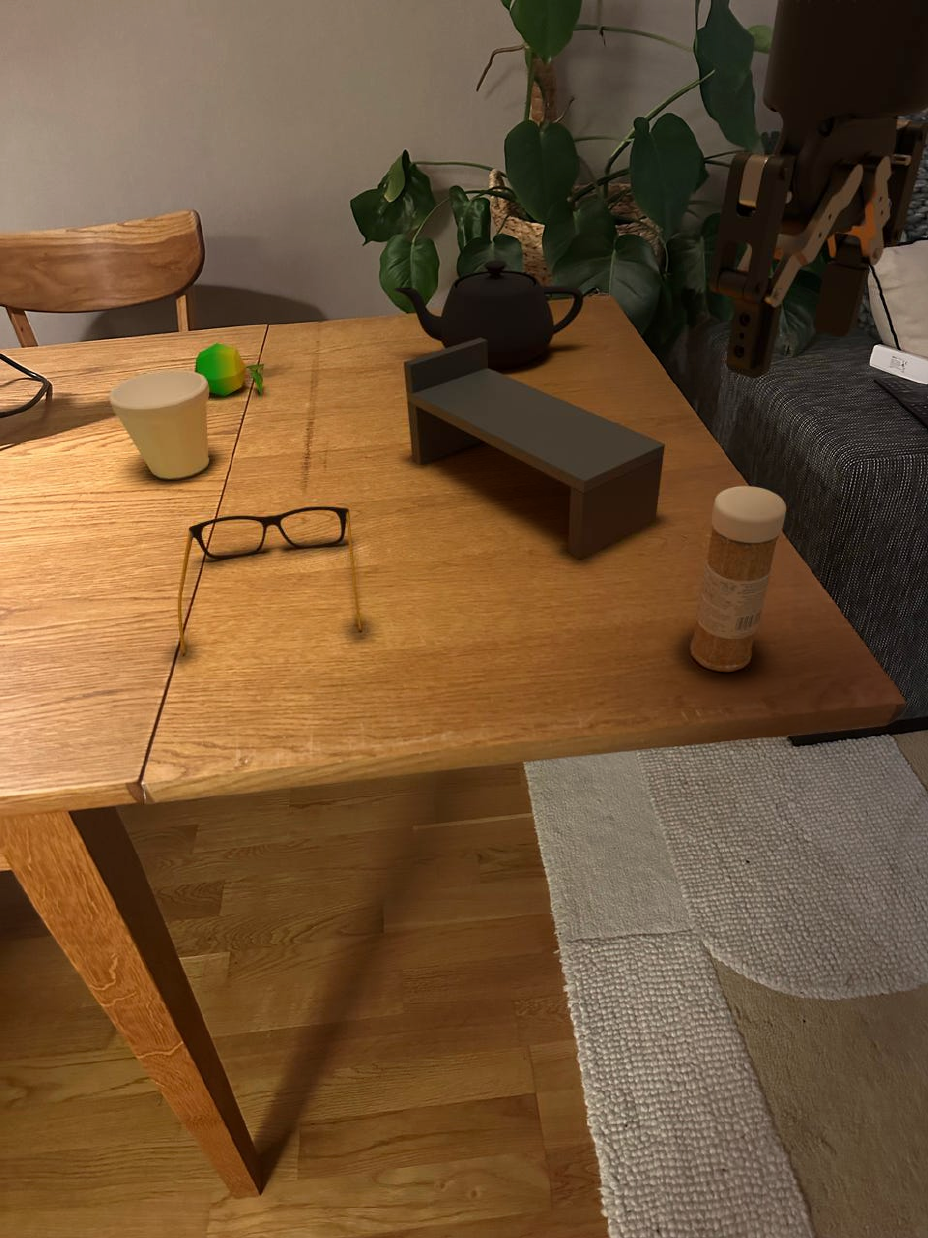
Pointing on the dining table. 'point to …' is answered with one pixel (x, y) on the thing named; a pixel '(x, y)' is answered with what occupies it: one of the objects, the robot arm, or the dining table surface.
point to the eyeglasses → (265, 521)
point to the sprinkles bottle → (736, 576)
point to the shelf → (536, 440)
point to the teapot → (497, 314)
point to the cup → (166, 420)
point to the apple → (225, 369)
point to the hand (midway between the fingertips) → (791, 351)
